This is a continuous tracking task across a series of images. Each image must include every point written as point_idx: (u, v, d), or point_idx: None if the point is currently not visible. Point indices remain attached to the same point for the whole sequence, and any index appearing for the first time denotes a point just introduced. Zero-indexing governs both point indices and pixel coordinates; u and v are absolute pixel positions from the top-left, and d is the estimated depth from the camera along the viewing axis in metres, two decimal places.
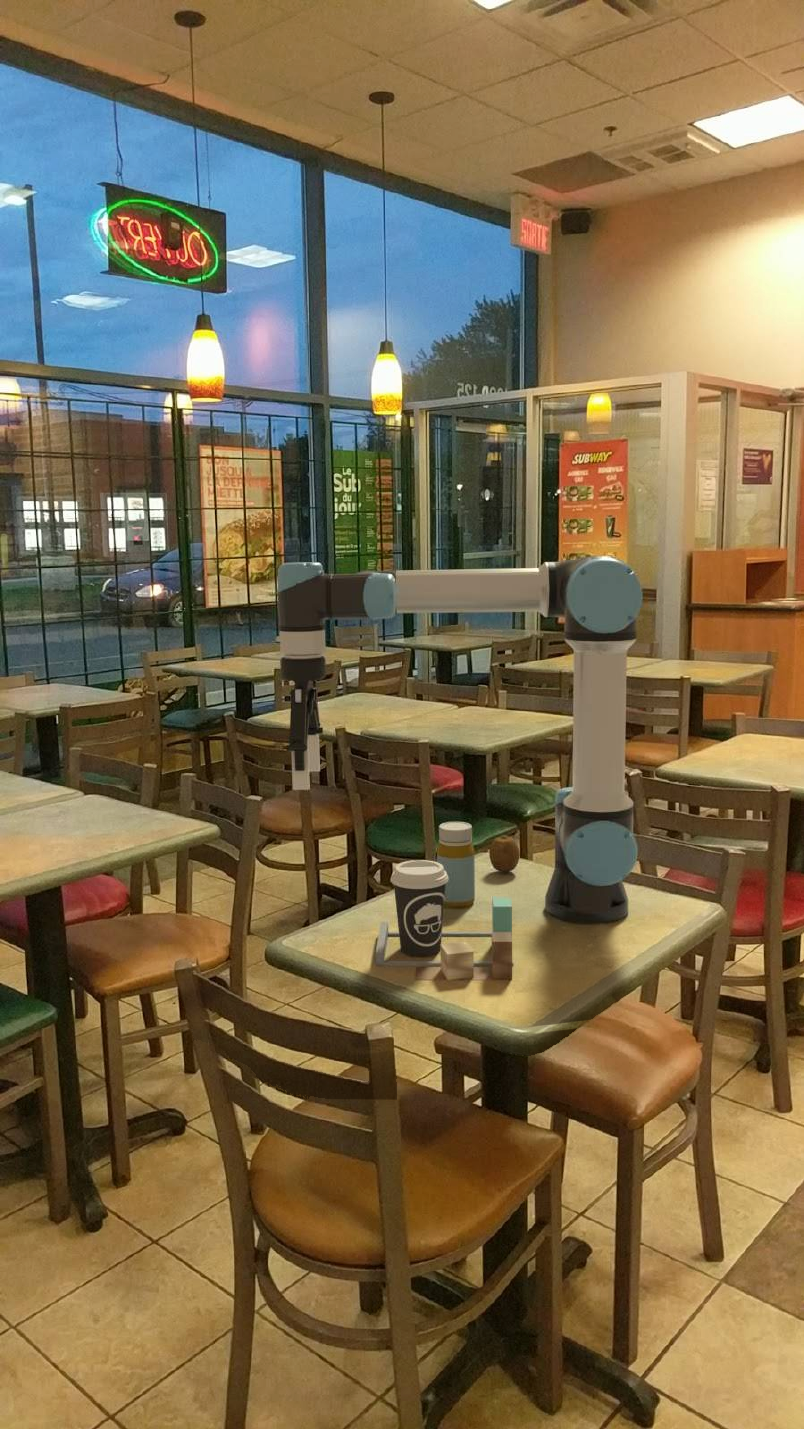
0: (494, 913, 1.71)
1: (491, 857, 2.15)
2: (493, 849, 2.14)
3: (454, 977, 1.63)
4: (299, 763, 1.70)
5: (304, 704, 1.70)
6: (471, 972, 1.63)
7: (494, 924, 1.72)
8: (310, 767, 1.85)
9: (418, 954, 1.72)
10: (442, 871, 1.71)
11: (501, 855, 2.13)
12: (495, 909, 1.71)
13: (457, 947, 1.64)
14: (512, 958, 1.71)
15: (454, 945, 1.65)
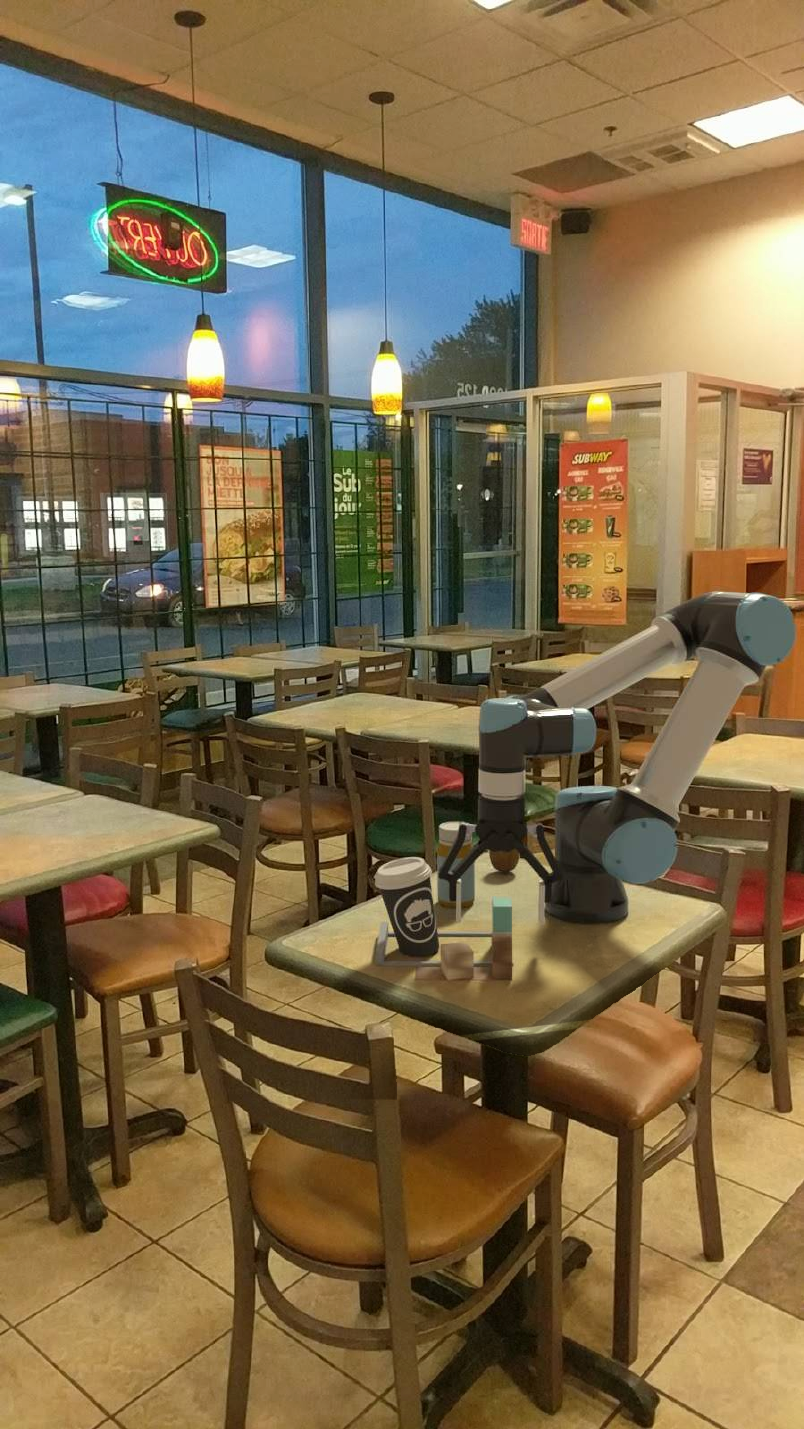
0: (494, 913, 1.71)
1: (491, 857, 2.15)
2: None
3: (454, 977, 1.63)
4: (449, 892, 1.73)
5: (457, 838, 1.71)
6: (471, 972, 1.63)
7: (494, 924, 1.72)
8: None
9: (416, 951, 1.72)
10: (423, 865, 1.71)
11: (501, 855, 2.13)
12: (495, 909, 1.71)
13: (457, 947, 1.64)
14: (512, 958, 1.71)
15: (454, 945, 1.65)
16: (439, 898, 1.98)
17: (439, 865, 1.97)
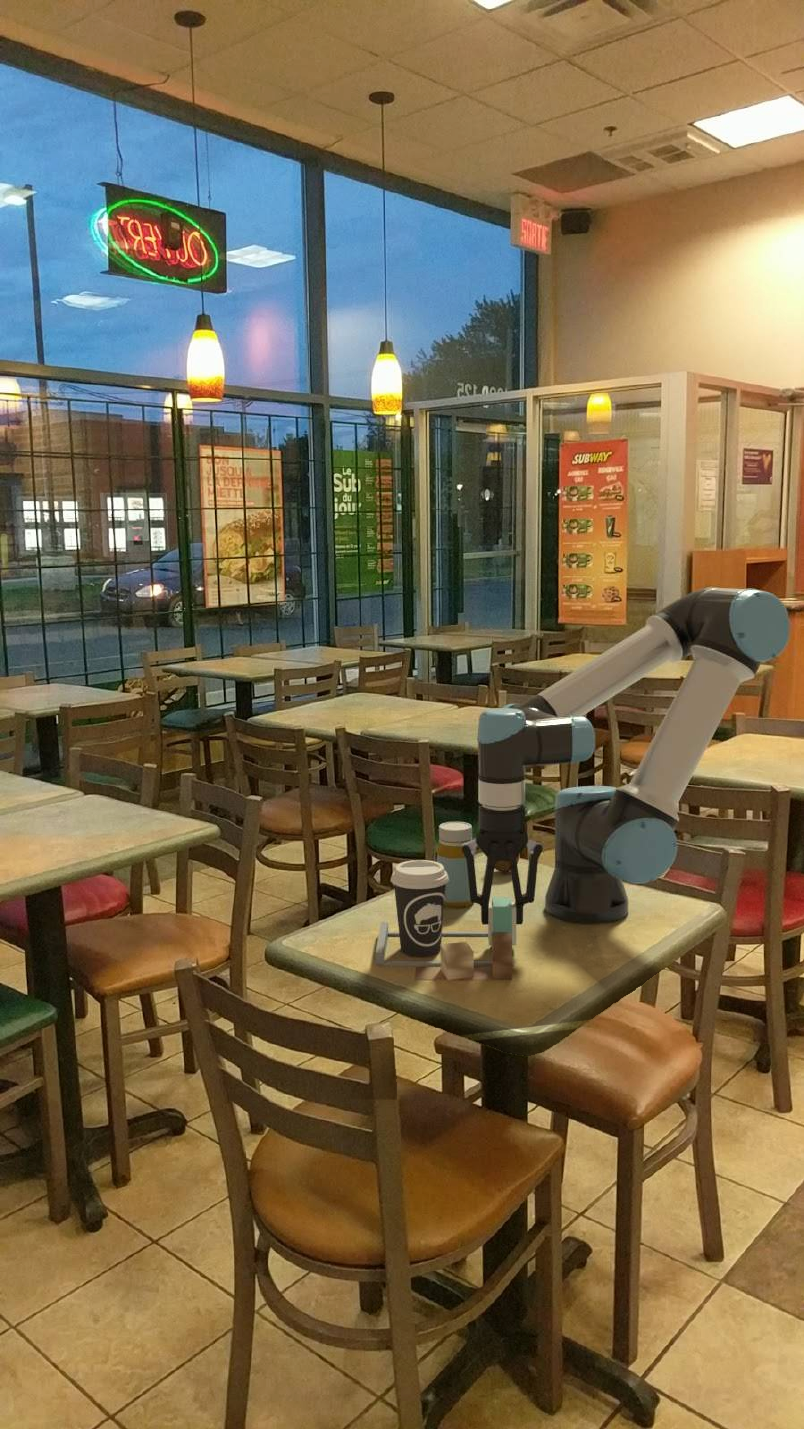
0: (494, 913, 1.71)
1: None
2: None
3: (454, 977, 1.63)
4: (481, 915, 1.74)
5: None
6: (471, 972, 1.63)
7: (494, 924, 1.72)
8: None
9: (418, 954, 1.72)
10: (442, 871, 1.71)
11: None
12: (495, 909, 1.71)
13: (457, 947, 1.64)
14: (512, 958, 1.71)
15: (454, 945, 1.65)
16: None
17: None
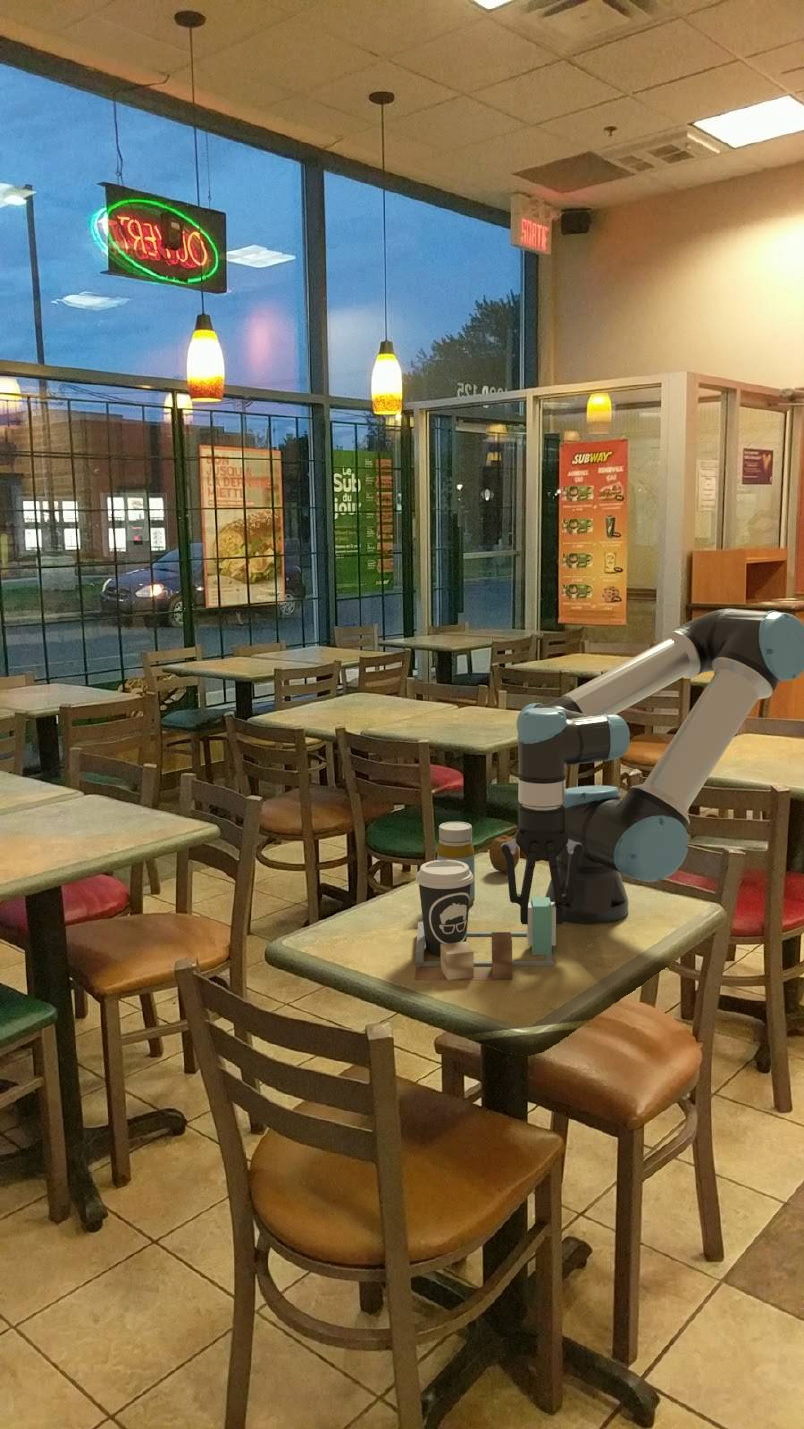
0: (534, 913, 1.71)
1: (491, 857, 2.15)
2: (493, 849, 2.14)
3: (454, 977, 1.63)
4: (520, 915, 1.73)
5: (506, 860, 1.71)
6: (471, 972, 1.63)
7: (534, 924, 1.71)
8: None
9: None
10: (467, 871, 1.71)
11: (501, 855, 2.13)
12: (535, 909, 1.71)
13: (457, 947, 1.64)
14: None
15: (454, 945, 1.65)
16: None
17: None
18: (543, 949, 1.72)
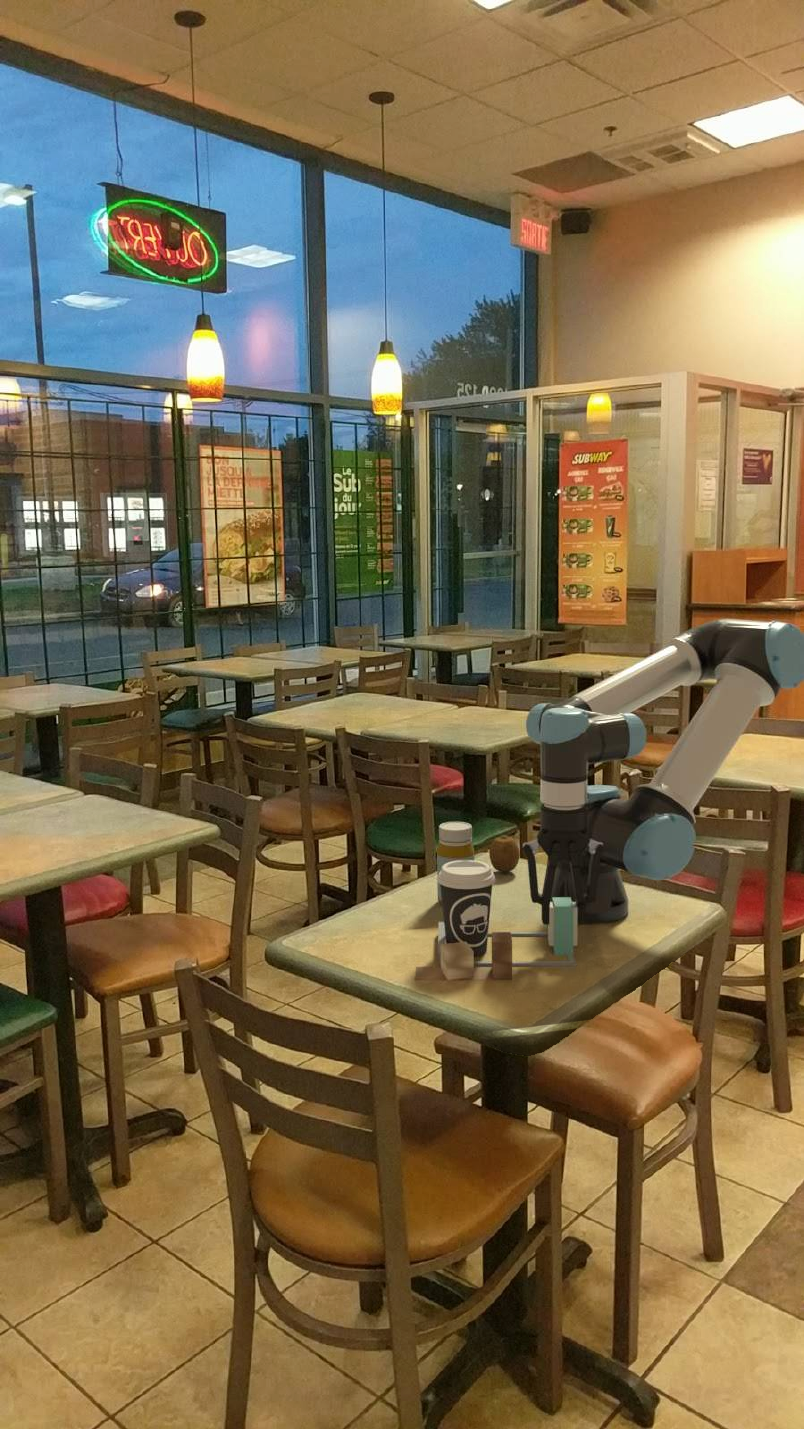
0: (555, 913, 1.71)
1: (491, 857, 2.15)
2: (493, 849, 2.14)
3: (454, 977, 1.63)
4: None
5: (528, 860, 1.71)
6: (471, 972, 1.63)
7: (555, 924, 1.71)
8: None
9: None
10: (489, 872, 1.71)
11: (501, 855, 2.13)
12: (556, 909, 1.71)
13: (457, 947, 1.64)
14: None
15: (454, 945, 1.65)
16: (439, 898, 1.98)
17: (439, 865, 1.97)
18: (565, 949, 1.72)
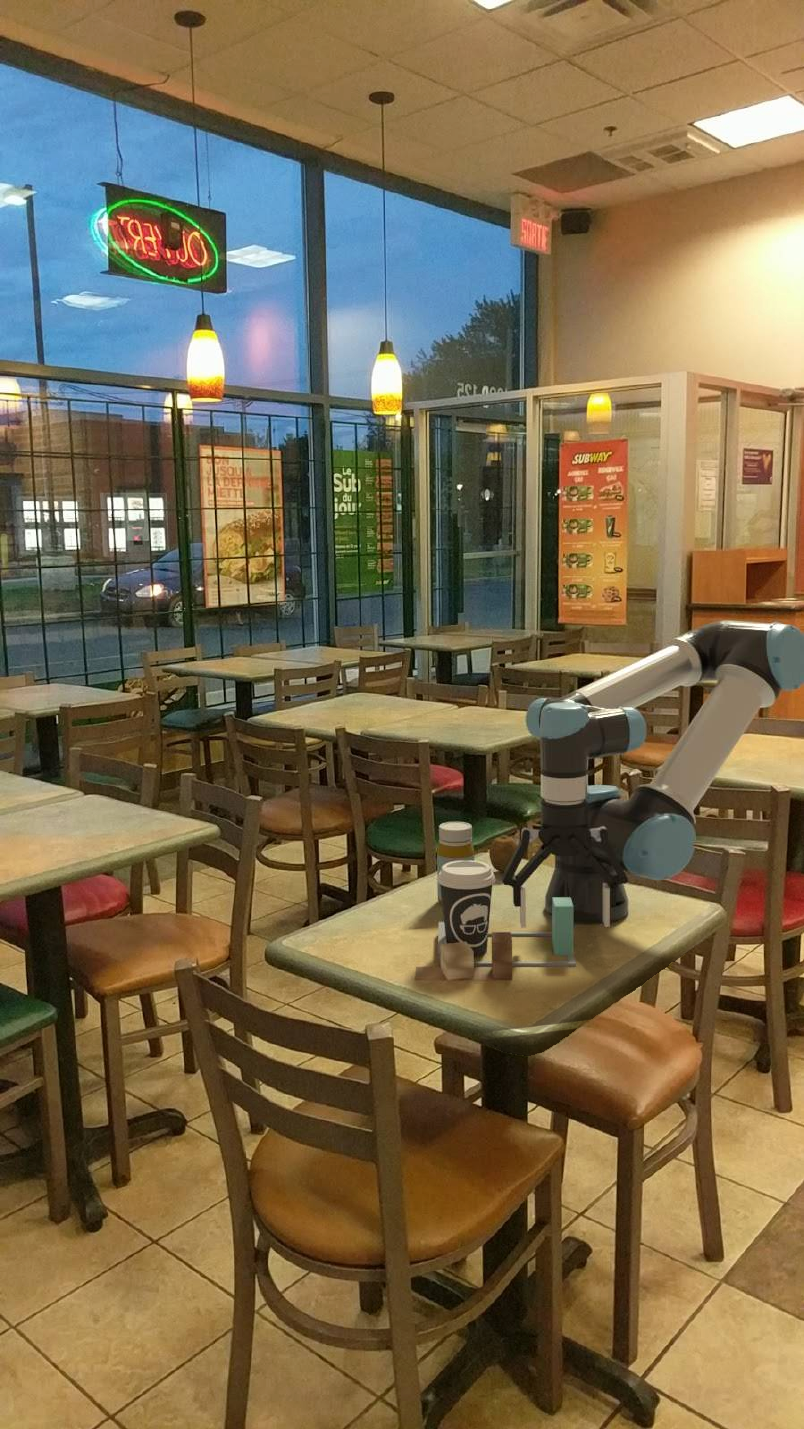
0: (555, 913, 1.71)
1: (491, 857, 2.15)
2: (493, 849, 2.14)
3: (454, 977, 1.63)
4: (513, 897, 1.73)
5: (520, 844, 1.70)
6: (471, 972, 1.63)
7: (555, 924, 1.71)
8: (603, 918, 1.73)
9: None
10: (489, 872, 1.71)
11: (502, 855, 2.13)
12: (557, 909, 1.71)
13: (457, 947, 1.64)
14: None
15: (454, 945, 1.65)
16: (439, 898, 1.98)
17: (439, 865, 1.97)
18: (565, 949, 1.72)
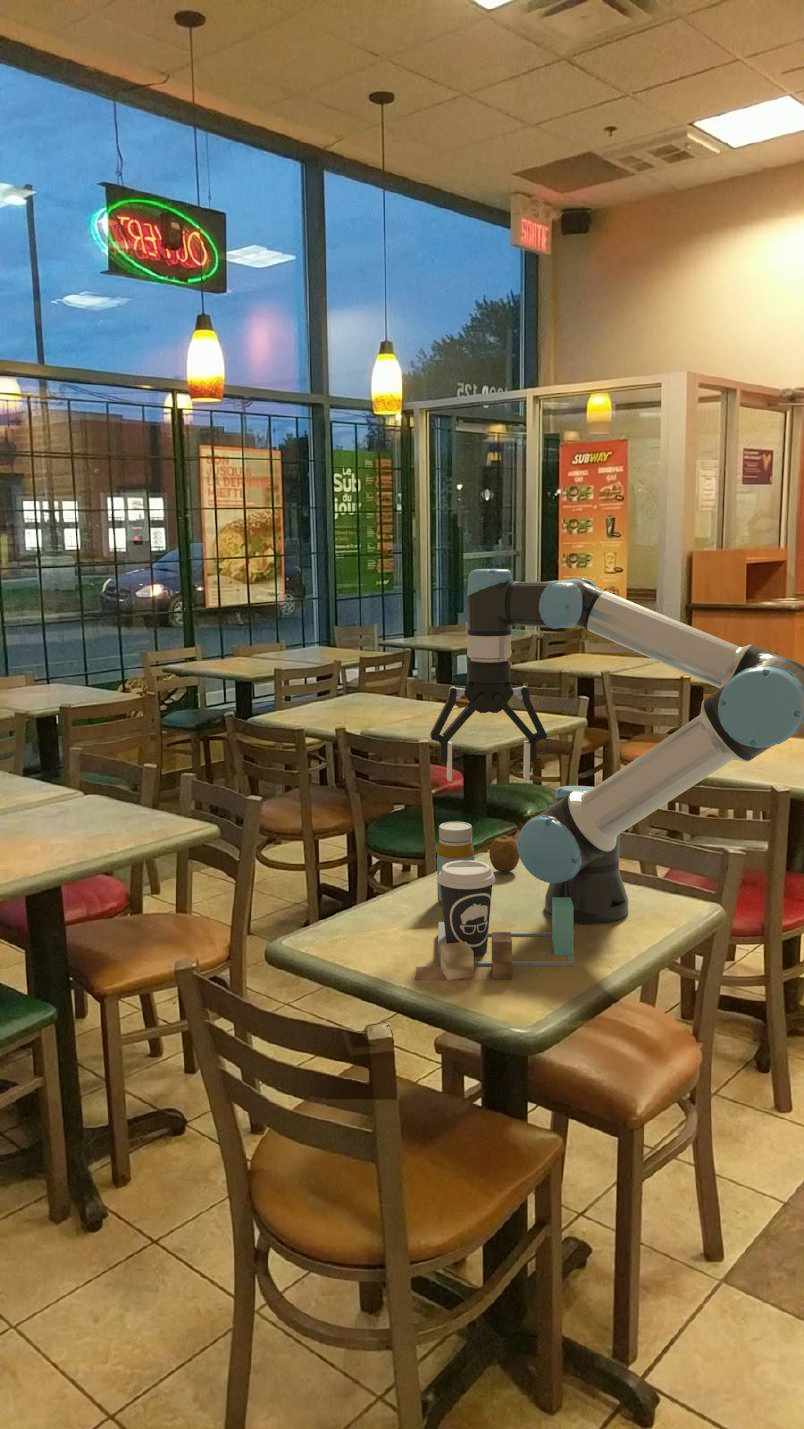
0: (555, 913, 1.71)
1: (491, 857, 2.15)
2: (493, 849, 2.14)
3: (454, 977, 1.63)
4: (440, 753, 1.84)
5: (448, 701, 1.82)
6: (471, 972, 1.63)
7: (555, 924, 1.71)
8: (524, 773, 1.86)
9: None
10: (489, 872, 1.71)
11: (501, 855, 2.13)
12: (557, 909, 1.71)
13: (457, 947, 1.64)
14: None
15: (454, 945, 1.65)
16: (439, 898, 1.98)
17: (439, 865, 1.97)
18: (565, 949, 1.72)
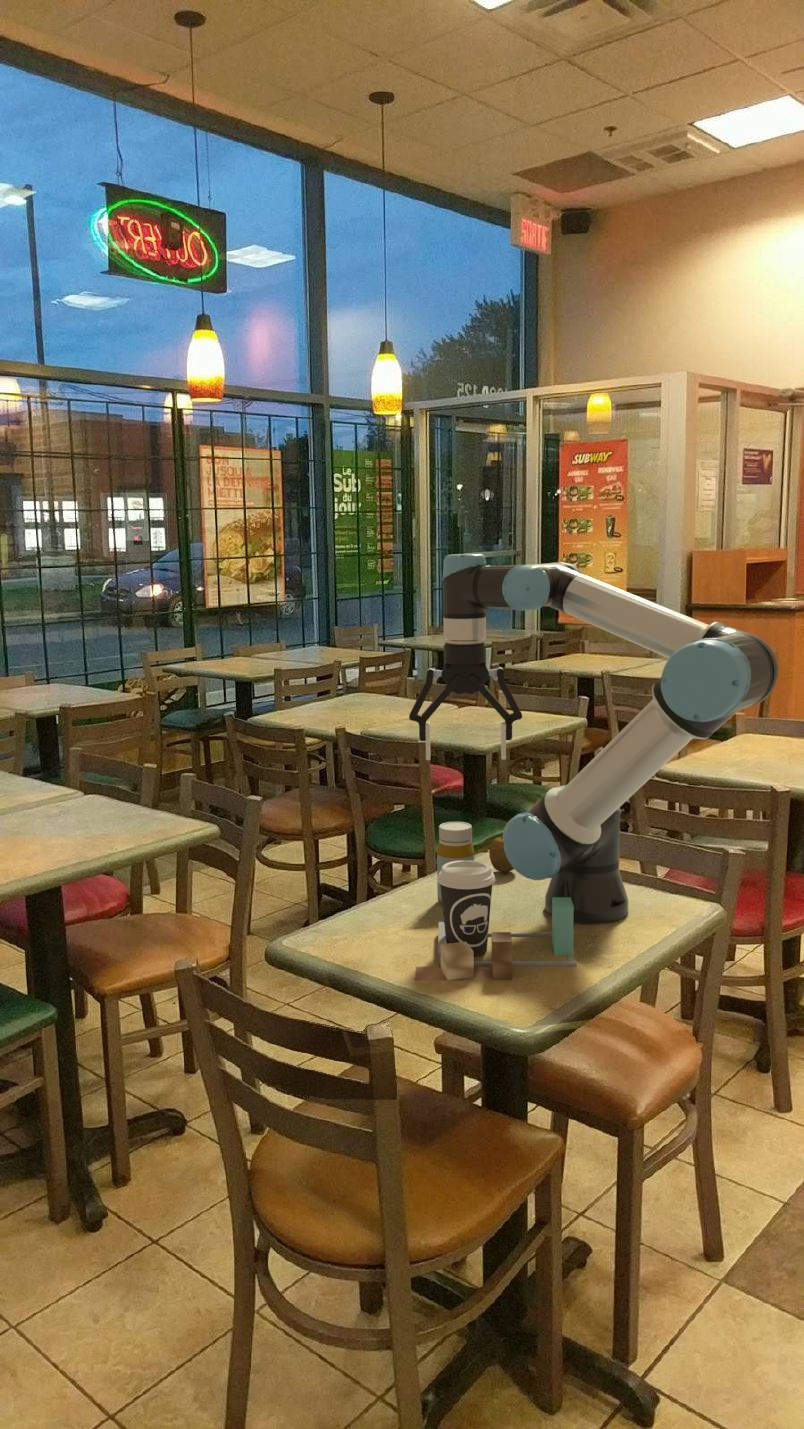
0: (555, 913, 1.71)
1: (491, 857, 2.15)
2: (493, 849, 2.14)
3: (454, 977, 1.63)
4: (419, 733, 1.90)
5: (425, 682, 1.88)
6: (471, 972, 1.63)
7: (555, 924, 1.71)
8: (501, 753, 1.91)
9: None
10: (489, 872, 1.71)
11: (501, 855, 2.13)
12: (557, 909, 1.71)
13: (457, 947, 1.64)
14: None
15: (454, 945, 1.65)
16: (439, 898, 1.98)
17: (439, 865, 1.97)
18: (565, 949, 1.72)
